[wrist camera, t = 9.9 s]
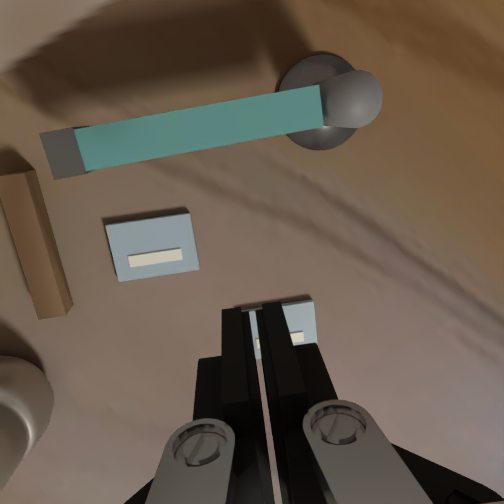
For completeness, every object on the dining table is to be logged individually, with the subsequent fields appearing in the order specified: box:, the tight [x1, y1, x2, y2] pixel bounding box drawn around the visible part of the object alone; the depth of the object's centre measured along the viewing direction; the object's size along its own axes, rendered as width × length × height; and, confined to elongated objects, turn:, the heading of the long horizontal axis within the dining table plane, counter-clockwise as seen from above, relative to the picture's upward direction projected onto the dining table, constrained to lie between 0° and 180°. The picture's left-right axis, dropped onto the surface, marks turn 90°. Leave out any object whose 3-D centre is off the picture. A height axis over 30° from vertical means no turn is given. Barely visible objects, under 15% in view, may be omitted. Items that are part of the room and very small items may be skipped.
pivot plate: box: [278, 54, 357, 150], centre depth 24 cm, size 5×5×1 cm
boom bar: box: [39, 70, 383, 180], centre depth 21 cm, size 15×2×6 cm, turn 100°
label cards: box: [105, 212, 317, 359], centre depth 27 cm, size 12×11×1 cm
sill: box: [0, 170, 73, 319], centre depth 25 cm, size 2×8×2 cm, turn 7°
